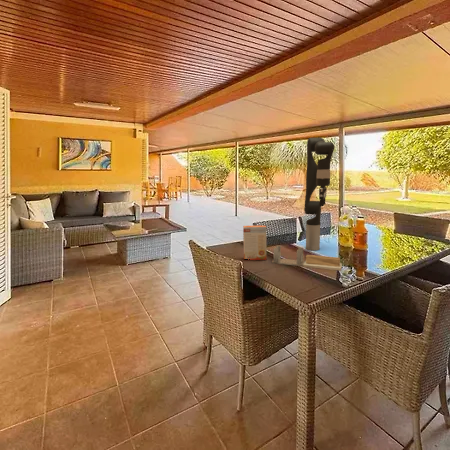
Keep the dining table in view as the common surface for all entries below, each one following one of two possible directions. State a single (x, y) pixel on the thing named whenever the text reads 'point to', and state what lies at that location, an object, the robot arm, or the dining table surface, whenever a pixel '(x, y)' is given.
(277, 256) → the standards
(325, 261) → the rail
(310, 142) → the robot arm
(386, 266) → the dining table surface
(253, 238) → the cracker box
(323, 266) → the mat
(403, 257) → the dining table surface
